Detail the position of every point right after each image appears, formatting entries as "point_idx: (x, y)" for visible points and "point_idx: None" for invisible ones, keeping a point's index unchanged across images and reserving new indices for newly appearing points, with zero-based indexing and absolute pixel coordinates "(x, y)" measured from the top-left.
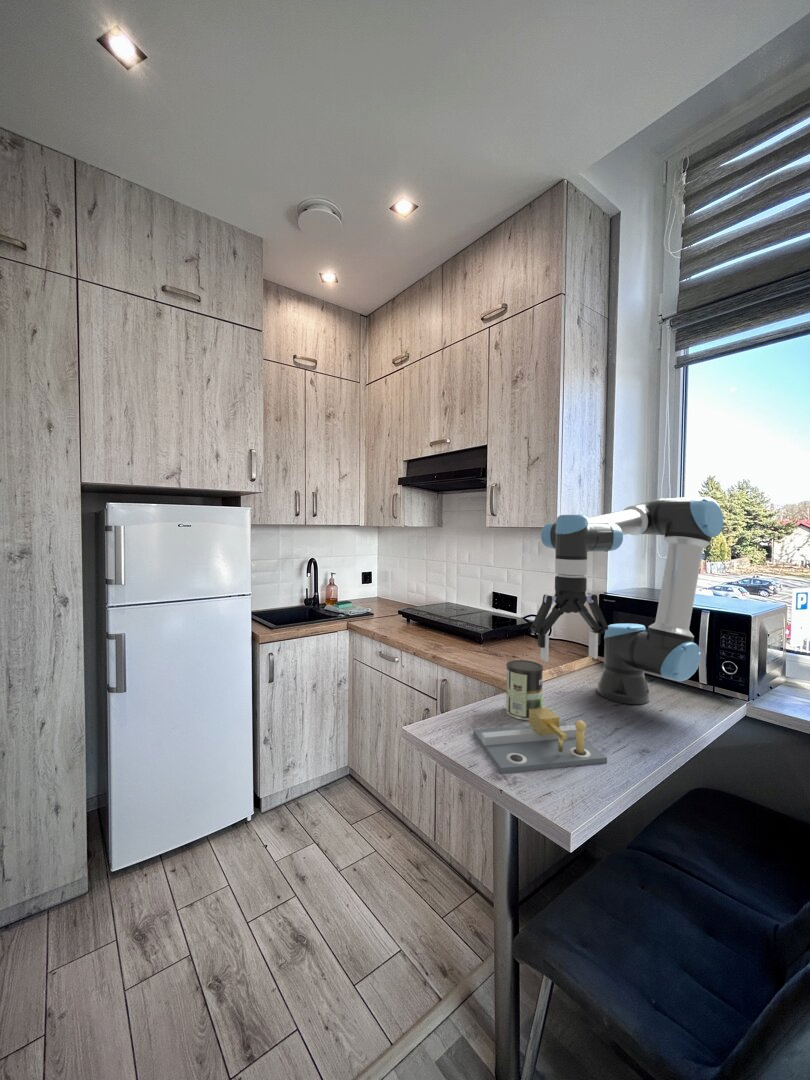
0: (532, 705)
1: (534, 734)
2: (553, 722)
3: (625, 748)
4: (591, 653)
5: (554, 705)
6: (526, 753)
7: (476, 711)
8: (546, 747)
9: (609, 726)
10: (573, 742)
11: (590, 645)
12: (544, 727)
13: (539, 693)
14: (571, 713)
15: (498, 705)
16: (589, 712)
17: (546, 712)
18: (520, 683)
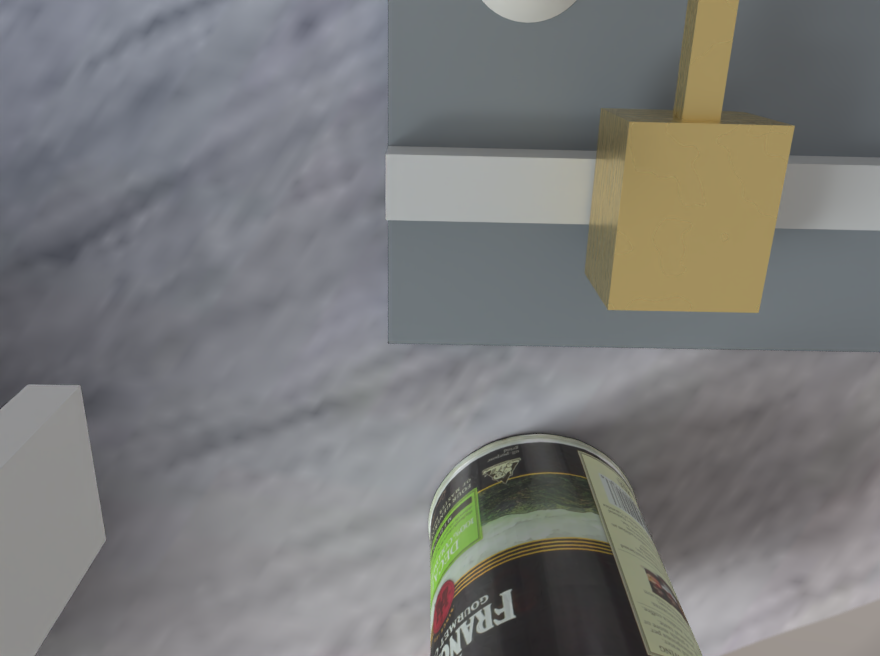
0: (552, 485)
1: None
2: (669, 119)
3: (155, 4)
4: (67, 510)
5: (295, 576)
6: (876, 14)
7: (790, 578)
8: None
9: (97, 287)
10: (490, 87)
11: (3, 642)
12: (731, 117)
13: (498, 546)
14: (247, 474)
15: None
16: (125, 467)
17: (669, 229)
18: (669, 613)
